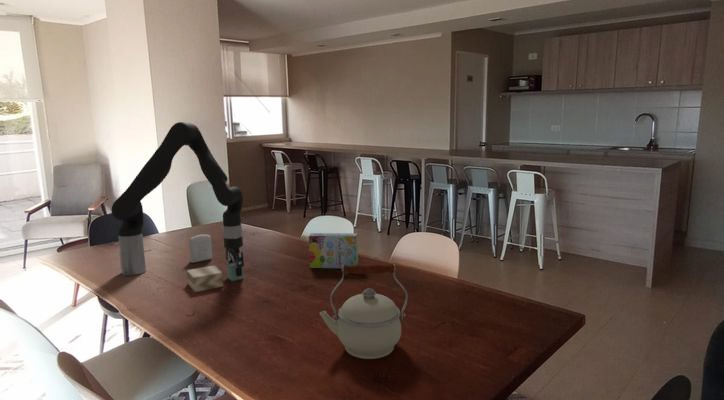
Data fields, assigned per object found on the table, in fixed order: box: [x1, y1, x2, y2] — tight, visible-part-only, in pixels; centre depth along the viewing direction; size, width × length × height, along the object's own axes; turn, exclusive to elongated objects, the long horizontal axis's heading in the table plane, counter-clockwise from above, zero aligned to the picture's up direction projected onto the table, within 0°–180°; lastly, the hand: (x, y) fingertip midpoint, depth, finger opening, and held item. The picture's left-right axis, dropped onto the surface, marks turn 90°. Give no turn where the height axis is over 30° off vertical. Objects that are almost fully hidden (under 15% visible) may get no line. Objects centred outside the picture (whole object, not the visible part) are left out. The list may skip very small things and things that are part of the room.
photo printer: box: [188, 234, 213, 263], centre depth 216 cm, size 10×4×12 cm, turn 134°
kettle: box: [319, 263, 409, 360], centre depth 130 cm, size 25×18×25 cm
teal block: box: [226, 263, 244, 282], centre depth 191 cm, size 5×5×6 cm
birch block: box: [186, 265, 224, 293], centre depth 184 cm, size 11×11×6 cm
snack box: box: [308, 232, 359, 269], centre depth 204 cm, size 21×6×15 cm, turn 84°
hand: (235, 273), depth 191 cm, fingers open, 8 cm apart
